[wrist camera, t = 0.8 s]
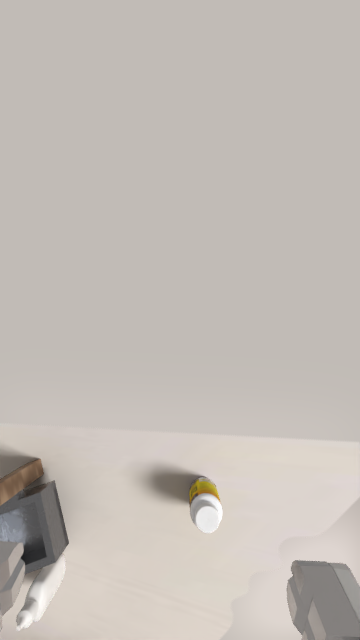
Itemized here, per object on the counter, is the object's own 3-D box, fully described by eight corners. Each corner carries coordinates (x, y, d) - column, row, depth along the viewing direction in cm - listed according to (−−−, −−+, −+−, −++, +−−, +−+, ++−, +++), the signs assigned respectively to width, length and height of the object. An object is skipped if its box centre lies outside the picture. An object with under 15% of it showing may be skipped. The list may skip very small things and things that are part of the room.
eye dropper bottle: (38, 575, 50) (-6, 637, 39) (57, 547, 51) (19, 599, 39) (56, 590, 50) (17, 658, 38) (74, 561, 51) (42, 619, 39)
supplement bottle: (193, 472, 53) (195, 496, 43) (219, 480, 53) (228, 506, 43) (185, 502, 52) (186, 533, 42) (213, 510, 52) (220, 544, 42)
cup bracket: (77, 529, 52) (42, 581, 39) (23, 550, 51) (-30, 609, 38) (59, 452, 55) (21, 476, 42) (7, 470, 54) (-48, 501, 41)
